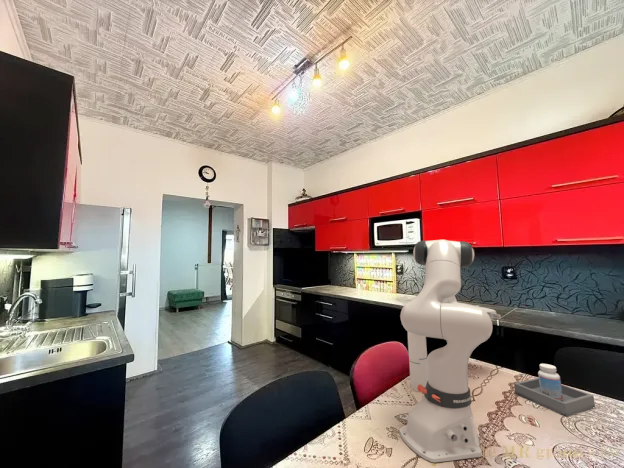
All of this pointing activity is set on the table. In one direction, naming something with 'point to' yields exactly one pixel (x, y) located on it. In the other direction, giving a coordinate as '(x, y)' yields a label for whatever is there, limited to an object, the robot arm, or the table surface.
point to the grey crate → (568, 406)
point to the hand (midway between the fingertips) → (491, 317)
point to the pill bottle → (550, 382)
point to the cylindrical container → (417, 360)
